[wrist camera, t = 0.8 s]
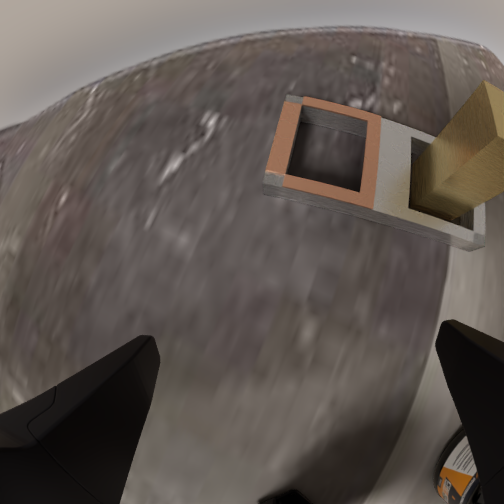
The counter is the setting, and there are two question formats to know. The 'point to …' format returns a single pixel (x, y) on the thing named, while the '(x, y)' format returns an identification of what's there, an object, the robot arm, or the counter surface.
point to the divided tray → (365, 173)
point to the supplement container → (458, 474)
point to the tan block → (463, 159)
